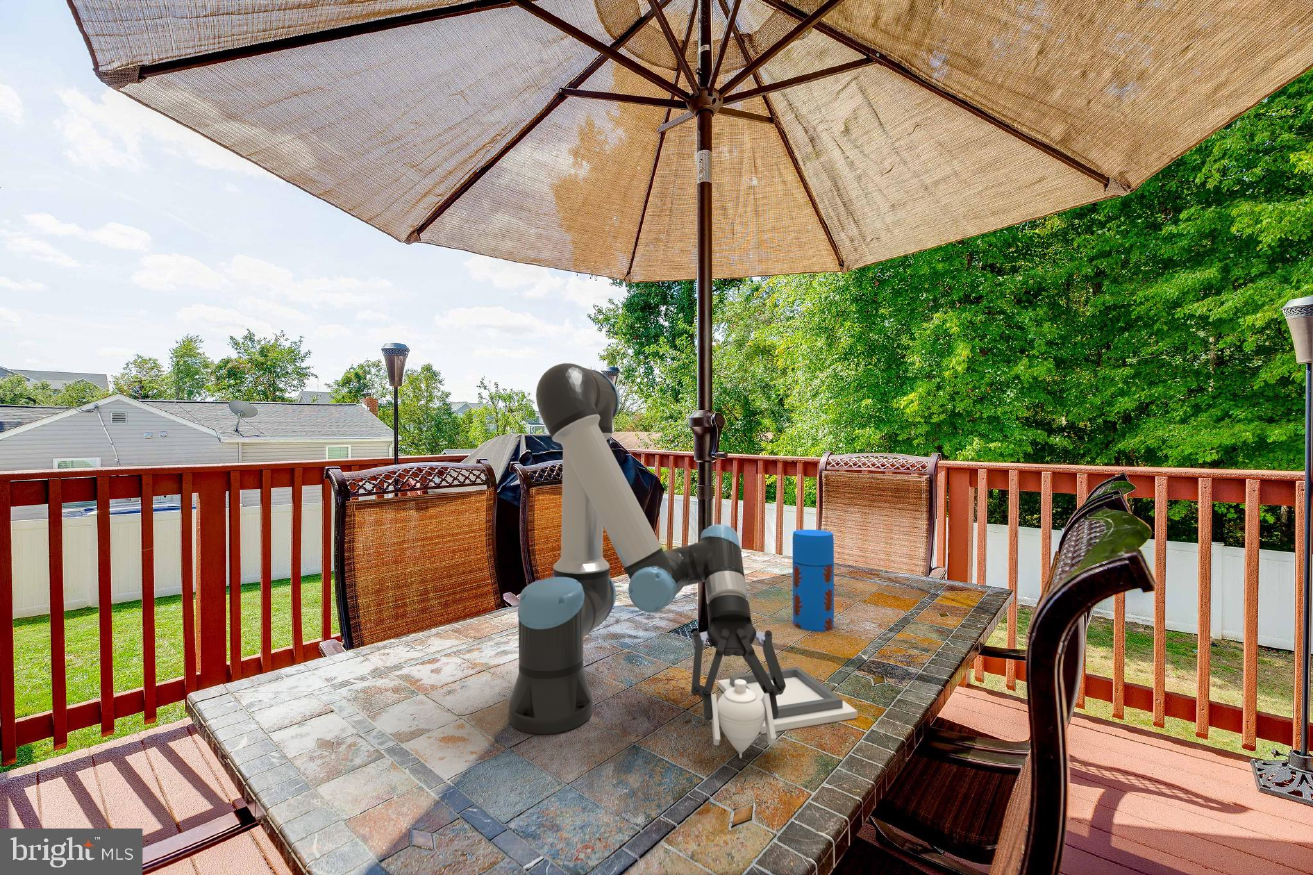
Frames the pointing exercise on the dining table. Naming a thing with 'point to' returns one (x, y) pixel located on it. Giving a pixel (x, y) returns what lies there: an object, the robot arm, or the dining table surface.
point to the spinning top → (740, 715)
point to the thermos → (813, 580)
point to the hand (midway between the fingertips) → (744, 741)
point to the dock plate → (798, 700)
